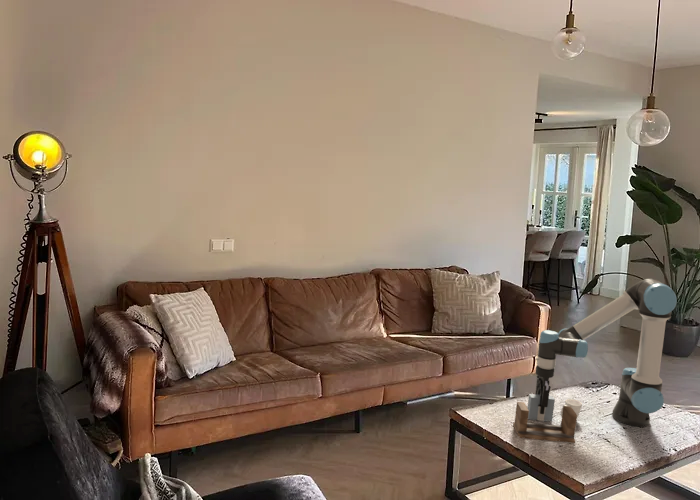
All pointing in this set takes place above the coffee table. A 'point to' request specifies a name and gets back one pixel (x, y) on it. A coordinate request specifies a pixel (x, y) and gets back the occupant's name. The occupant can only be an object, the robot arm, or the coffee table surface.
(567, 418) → the wooden u-shaped holder
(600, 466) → the coffee table surface
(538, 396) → the gray rectangular block
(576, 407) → the cup
